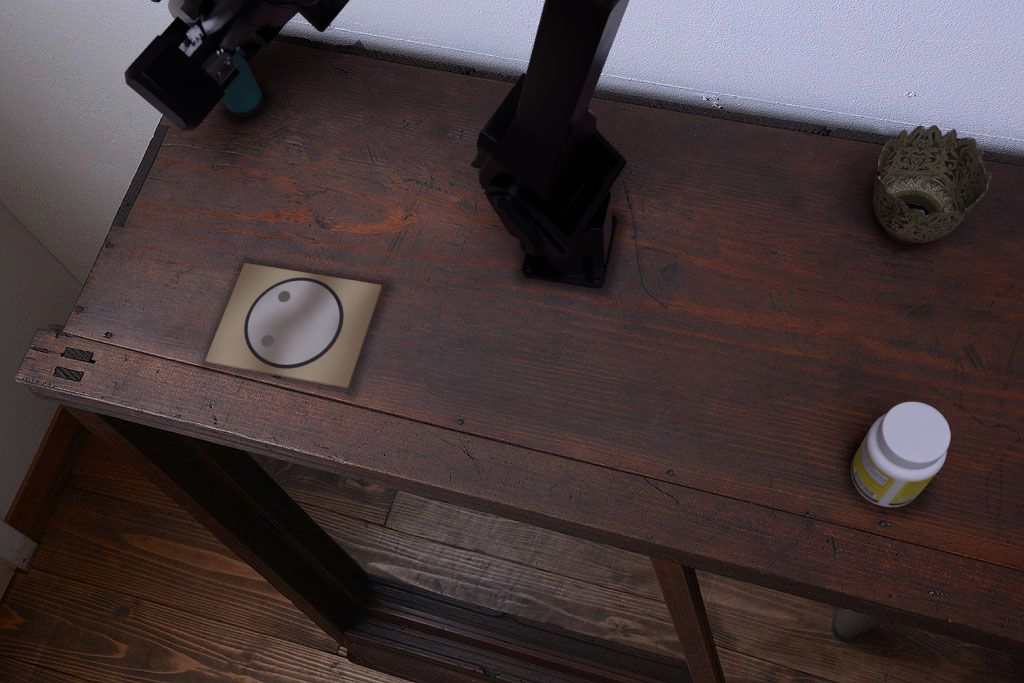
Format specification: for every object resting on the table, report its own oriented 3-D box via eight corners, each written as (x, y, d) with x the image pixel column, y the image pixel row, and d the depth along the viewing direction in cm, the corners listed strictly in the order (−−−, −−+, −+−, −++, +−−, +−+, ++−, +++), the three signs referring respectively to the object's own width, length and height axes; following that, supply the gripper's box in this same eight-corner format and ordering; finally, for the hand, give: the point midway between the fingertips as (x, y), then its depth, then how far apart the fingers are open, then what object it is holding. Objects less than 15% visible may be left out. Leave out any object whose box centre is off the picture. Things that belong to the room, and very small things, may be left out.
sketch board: (383, 287, 77) (381, 283, 77) (349, 389, 74) (347, 386, 73) (246, 265, 80) (243, 261, 79) (206, 362, 76) (203, 359, 76)
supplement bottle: (927, 453, 67) (964, 407, 59) (916, 517, 65) (952, 478, 57) (856, 434, 68) (883, 386, 60) (842, 497, 66) (869, 456, 58)
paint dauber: (271, 90, 88) (218, -15, 77) (257, 121, 86) (202, 20, 75) (235, 85, 89) (177, -19, 78) (221, 117, 87) (160, 15, 76)
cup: (965, 269, 72) (1001, 209, 65) (863, 273, 73) (887, 214, 66) (948, 186, 76) (980, 120, 68) (850, 190, 76) (872, 126, 69)
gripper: (249, -189, 68) (196, -101, 82) (76, -9, 62) (48, 55, 76) (367, -66, 73) (298, -2, 86) (216, 113, 67) (167, 152, 80)
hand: (206, 46), depth 82 cm, fingers closed on paint dauber, 3 cm apart
